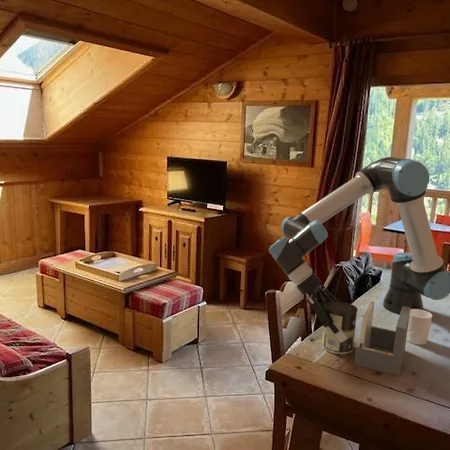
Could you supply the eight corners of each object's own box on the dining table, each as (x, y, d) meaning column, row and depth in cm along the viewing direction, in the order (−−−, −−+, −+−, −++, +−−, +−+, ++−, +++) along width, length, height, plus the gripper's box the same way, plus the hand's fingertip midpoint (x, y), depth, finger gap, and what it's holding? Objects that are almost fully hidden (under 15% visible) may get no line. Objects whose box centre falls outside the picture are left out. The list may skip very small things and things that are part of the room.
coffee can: (352, 342, 154) (356, 302, 151) (354, 356, 145) (358, 315, 142) (321, 338, 156) (324, 299, 153) (321, 352, 146) (324, 311, 143)
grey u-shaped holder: (404, 350, 150) (410, 307, 147) (399, 376, 134) (405, 329, 131) (364, 341, 155) (368, 299, 152) (354, 365, 139) (359, 319, 136)
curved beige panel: (370, 341, 153) (374, 301, 150) (360, 365, 137) (365, 322, 134) (366, 340, 154) (370, 301, 151) (356, 364, 138) (361, 321, 135)
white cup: (427, 337, 160) (431, 311, 158) (429, 347, 153) (433, 319, 150) (403, 333, 162) (407, 307, 160) (404, 343, 155) (407, 315, 153)
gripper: (305, 275, 163) (346, 326, 160) (285, 295, 143) (330, 353, 140) (321, 264, 160) (363, 315, 156) (303, 282, 140) (350, 342, 136)
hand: (347, 333), depth 148 cm, fingers closed on coffee can, 10 cm apart
